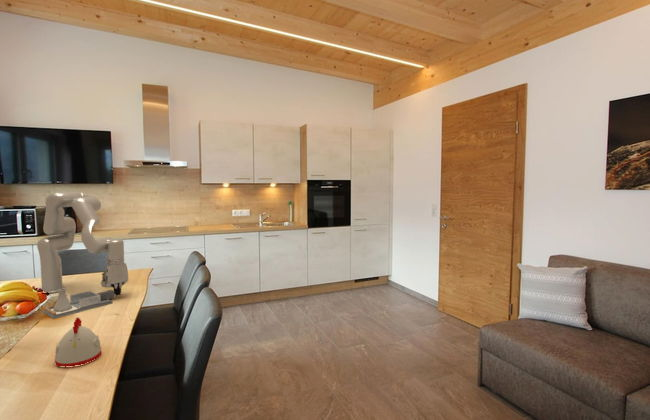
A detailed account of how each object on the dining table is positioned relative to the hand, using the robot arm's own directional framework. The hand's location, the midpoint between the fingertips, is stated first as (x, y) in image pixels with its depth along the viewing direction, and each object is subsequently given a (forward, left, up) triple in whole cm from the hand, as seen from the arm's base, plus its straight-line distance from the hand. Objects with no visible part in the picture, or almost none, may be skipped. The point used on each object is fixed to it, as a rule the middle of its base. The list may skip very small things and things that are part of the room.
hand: (117, 294), depth 193 cm
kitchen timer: (+56, -39, -2) cm, 69 cm away
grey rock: (-31, +11, -2) cm, 33 cm away
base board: (0, -18, -2) cm, 18 cm away
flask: (0, -25, -1) cm, 25 cm away
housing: (0, -11, -1) cm, 11 cm away
